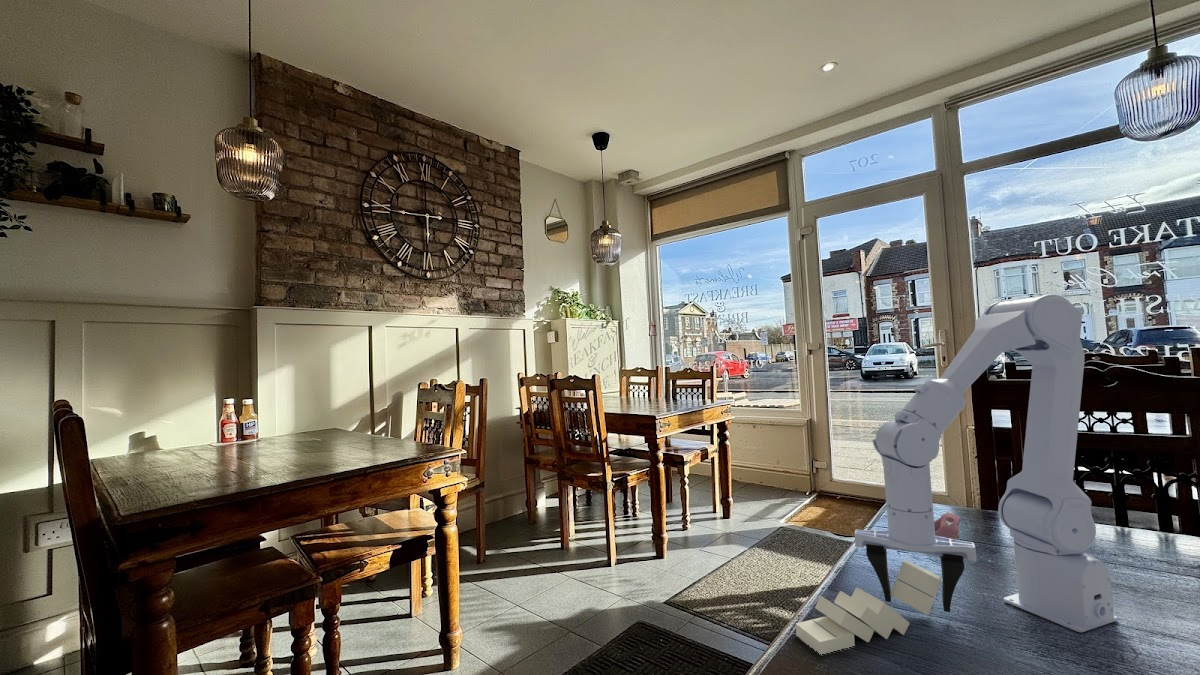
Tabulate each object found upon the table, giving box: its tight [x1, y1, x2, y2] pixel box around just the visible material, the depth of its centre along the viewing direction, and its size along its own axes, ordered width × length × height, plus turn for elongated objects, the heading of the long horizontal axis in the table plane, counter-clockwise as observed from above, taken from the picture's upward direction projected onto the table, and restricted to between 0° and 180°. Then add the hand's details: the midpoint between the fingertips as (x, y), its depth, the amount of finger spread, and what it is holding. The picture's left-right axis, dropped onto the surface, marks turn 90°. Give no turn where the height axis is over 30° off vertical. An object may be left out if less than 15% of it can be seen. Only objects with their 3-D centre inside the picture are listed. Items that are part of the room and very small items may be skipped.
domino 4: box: [850, 587, 911, 636], centre depth 69 cm, size 5×2×5 cm
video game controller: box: [934, 511, 962, 540], centre depth 96 cm, size 10×5×7 cm, turn 143°
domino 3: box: [833, 590, 894, 640], centre depth 68 cm, size 5×2×5 cm
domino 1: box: [795, 615, 856, 656], centre depth 67 cm, size 5×2×5 cm
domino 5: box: [890, 558, 942, 616], centre depth 72 cm, size 5×2×5 cm, turn 52°
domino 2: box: [814, 595, 875, 643], centre depth 68 cm, size 5×2×5 cm
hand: (916, 603), depth 72 cm, fingers closed on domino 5, 6 cm apart
